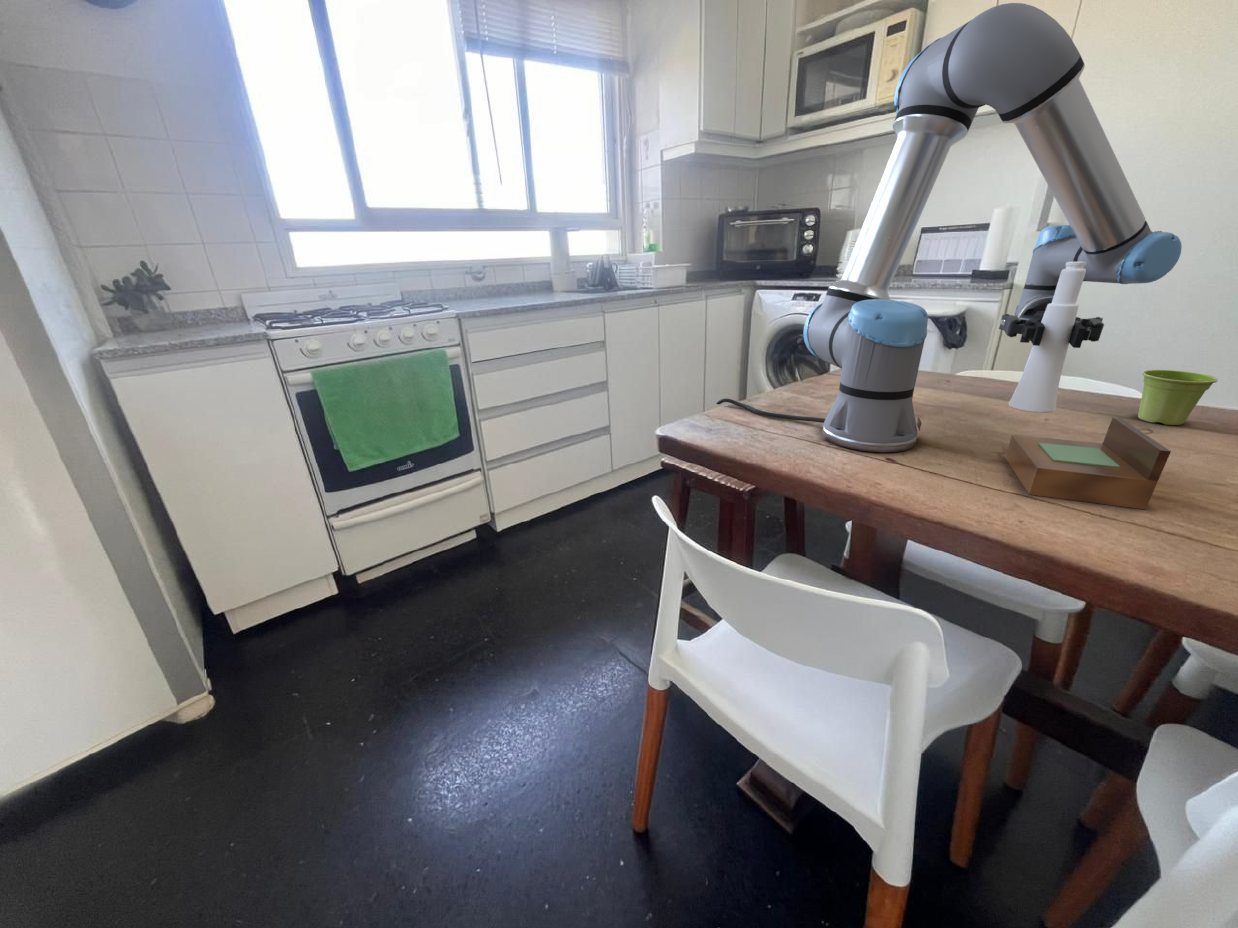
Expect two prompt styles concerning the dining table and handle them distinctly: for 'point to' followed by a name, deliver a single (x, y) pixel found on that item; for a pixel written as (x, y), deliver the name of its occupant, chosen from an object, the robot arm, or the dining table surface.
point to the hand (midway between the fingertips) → (1059, 337)
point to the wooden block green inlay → (1091, 466)
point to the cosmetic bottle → (1050, 346)
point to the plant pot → (1171, 395)
